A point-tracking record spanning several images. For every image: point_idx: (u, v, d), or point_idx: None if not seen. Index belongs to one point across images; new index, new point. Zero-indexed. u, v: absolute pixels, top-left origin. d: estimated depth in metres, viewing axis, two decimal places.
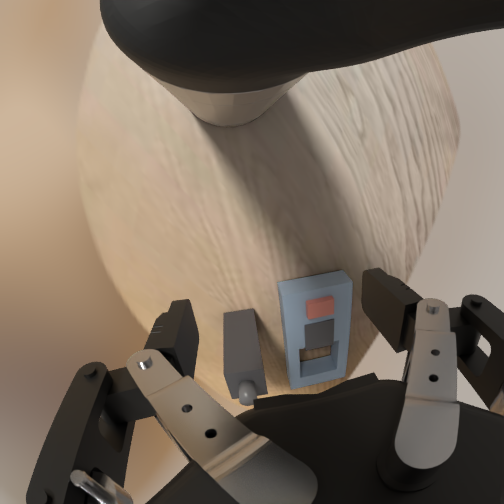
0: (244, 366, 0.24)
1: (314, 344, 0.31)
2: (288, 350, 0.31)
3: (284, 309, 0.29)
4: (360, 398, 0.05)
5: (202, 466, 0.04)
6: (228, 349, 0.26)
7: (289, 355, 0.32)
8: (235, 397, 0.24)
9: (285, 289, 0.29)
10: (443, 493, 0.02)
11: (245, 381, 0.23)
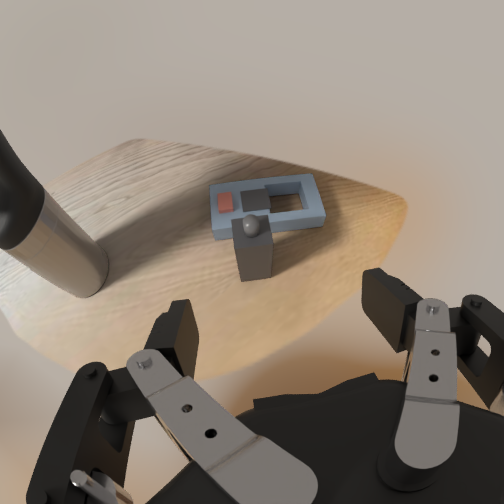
0: None
1: (264, 202, 0.38)
2: (270, 221, 0.37)
3: (225, 227, 0.37)
4: (360, 398, 0.05)
5: (202, 466, 0.04)
6: None
7: (277, 220, 0.37)
8: (271, 240, 0.28)
9: None
10: (443, 493, 0.02)
11: (244, 231, 0.28)
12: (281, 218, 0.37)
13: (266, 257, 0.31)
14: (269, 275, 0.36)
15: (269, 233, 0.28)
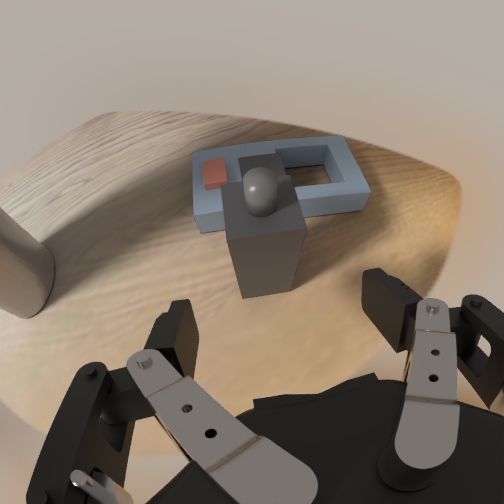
0: None
1: (277, 171, 0.24)
2: None
3: (214, 211, 0.23)
4: (360, 398, 0.05)
5: (202, 466, 0.04)
6: None
7: (298, 198, 0.23)
8: (301, 222, 0.14)
9: None
10: (443, 493, 0.02)
11: (245, 204, 0.14)
12: (304, 195, 0.23)
13: (288, 256, 0.16)
14: (289, 287, 0.22)
15: (296, 208, 0.14)
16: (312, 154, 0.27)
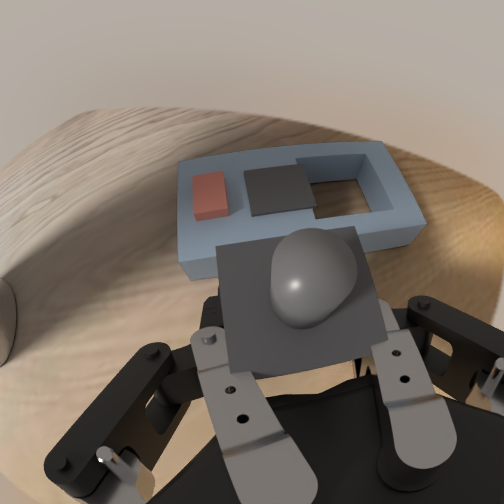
0: None
1: (301, 192, 0.16)
2: None
3: (209, 255, 0.15)
4: (360, 398, 0.05)
5: (221, 447, 0.04)
6: None
7: None
8: (380, 336, 0.06)
9: None
10: (443, 493, 0.02)
11: (271, 301, 0.06)
12: None
13: None
14: None
15: (372, 304, 0.06)
16: (344, 166, 0.19)
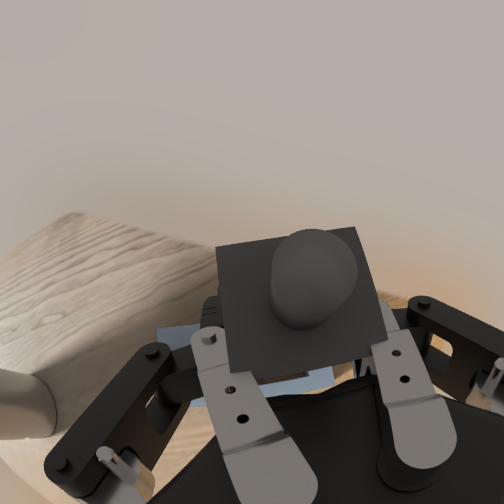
0: None
1: None
2: None
3: None
4: (360, 398, 0.05)
5: (221, 447, 0.04)
6: None
7: None
8: (381, 337, 0.06)
9: None
10: (443, 493, 0.02)
11: (271, 302, 0.06)
12: (265, 395, 0.22)
13: None
14: None
15: (372, 305, 0.06)
16: None
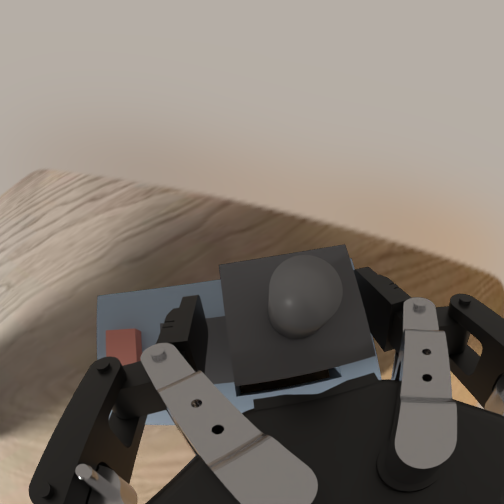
0: None
1: (222, 362, 0.13)
2: None
3: None
4: (360, 398, 0.05)
5: (206, 461, 0.04)
6: None
7: None
8: (366, 345, 0.07)
9: None
10: (443, 493, 0.02)
11: (269, 315, 0.07)
12: None
13: None
14: None
15: (359, 316, 0.07)
16: None
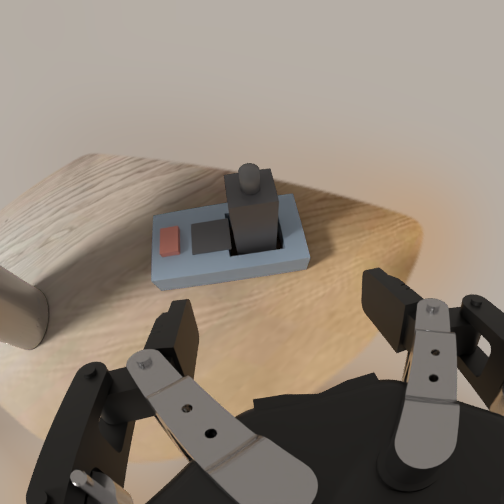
0: None
1: (222, 239, 0.28)
2: (229, 269, 0.26)
3: (168, 278, 0.26)
4: (360, 398, 0.05)
5: (202, 466, 0.04)
6: None
7: (238, 266, 0.26)
8: (275, 197, 0.21)
9: None
10: (443, 493, 0.02)
11: (240, 187, 0.22)
12: (245, 264, 0.27)
13: (269, 223, 0.24)
14: None
15: (273, 189, 0.22)
16: None
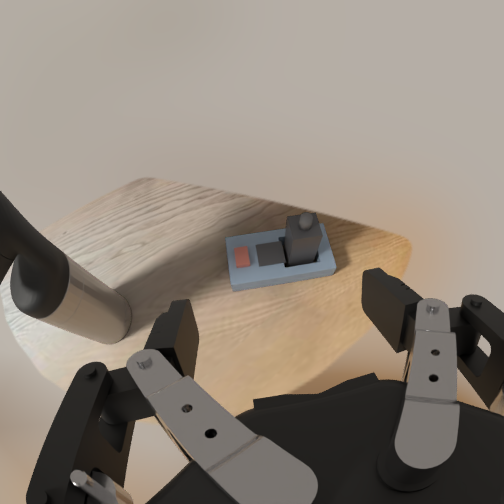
0: (289, 229, 0.36)
1: (279, 256, 0.41)
2: (285, 275, 0.40)
3: (243, 282, 0.40)
4: (360, 398, 0.05)
5: (202, 466, 0.04)
6: (290, 248, 0.38)
7: (291, 274, 0.40)
8: (320, 233, 0.35)
9: None
10: (443, 493, 0.02)
11: (299, 225, 0.35)
12: (295, 272, 0.40)
13: (314, 247, 0.37)
14: None
15: (318, 227, 0.35)
16: None
